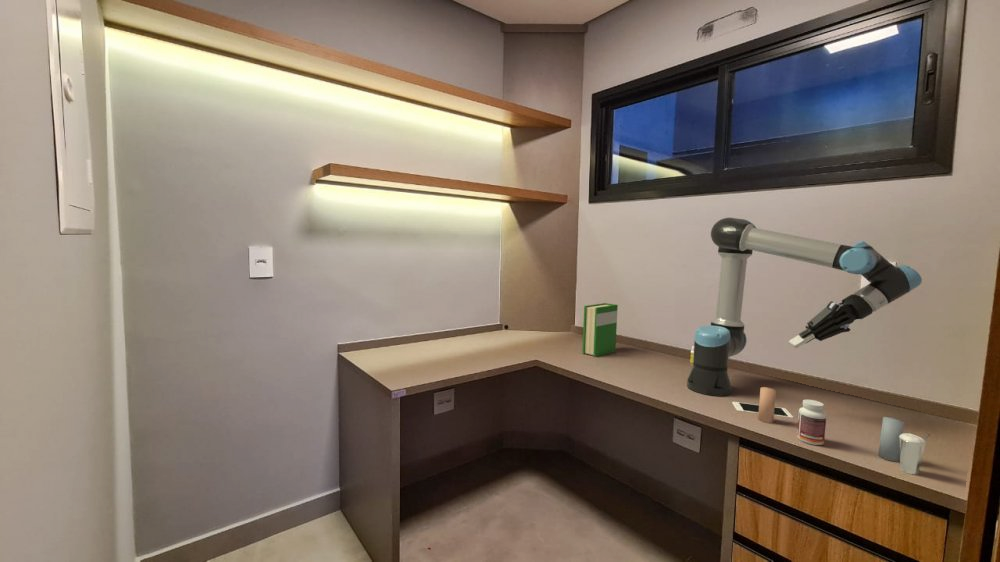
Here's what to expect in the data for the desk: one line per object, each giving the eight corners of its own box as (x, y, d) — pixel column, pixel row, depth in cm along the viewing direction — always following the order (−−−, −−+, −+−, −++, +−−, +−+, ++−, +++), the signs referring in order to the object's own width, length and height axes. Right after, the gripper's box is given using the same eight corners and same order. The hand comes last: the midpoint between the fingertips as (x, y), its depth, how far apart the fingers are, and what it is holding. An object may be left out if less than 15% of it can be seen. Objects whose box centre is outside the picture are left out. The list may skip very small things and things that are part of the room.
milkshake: (930, 478, 97) (935, 438, 96) (901, 473, 98) (906, 433, 98) (919, 469, 101) (924, 430, 100) (891, 464, 103) (896, 426, 102)
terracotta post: (756, 420, 128) (759, 389, 127) (759, 416, 130) (762, 386, 130) (771, 424, 125) (774, 392, 124) (774, 420, 128) (777, 389, 127)
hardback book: (594, 357, 196) (596, 307, 194) (582, 354, 202) (584, 305, 199) (615, 351, 208) (617, 304, 206) (603, 348, 213) (605, 303, 211)
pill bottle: (829, 446, 112) (833, 407, 111) (806, 445, 112) (810, 406, 111) (813, 435, 118) (816, 398, 117) (791, 435, 118) (794, 398, 117)
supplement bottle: (691, 362, 190) (692, 345, 189) (702, 364, 187) (703, 346, 186) (688, 365, 186) (689, 347, 186) (699, 367, 184) (700, 348, 183)
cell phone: (731, 403, 142) (731, 401, 142) (785, 410, 137) (785, 408, 137) (736, 411, 135) (737, 410, 135) (793, 419, 130) (794, 417, 130)
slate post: (878, 457, 106) (883, 419, 105) (877, 452, 109) (882, 415, 108) (900, 463, 103) (905, 424, 102) (898, 457, 106) (903, 420, 106)
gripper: (867, 294, 122) (793, 338, 127) (879, 322, 127) (807, 364, 132) (846, 283, 128) (776, 325, 134) (858, 310, 133) (791, 350, 139)
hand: (792, 344), depth 133 cm, fingers closed
